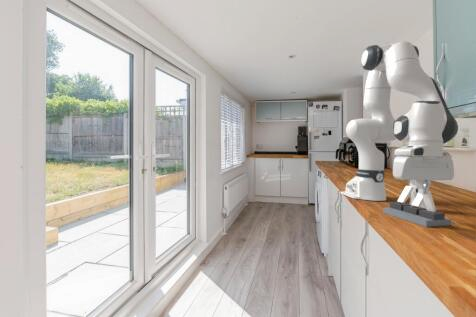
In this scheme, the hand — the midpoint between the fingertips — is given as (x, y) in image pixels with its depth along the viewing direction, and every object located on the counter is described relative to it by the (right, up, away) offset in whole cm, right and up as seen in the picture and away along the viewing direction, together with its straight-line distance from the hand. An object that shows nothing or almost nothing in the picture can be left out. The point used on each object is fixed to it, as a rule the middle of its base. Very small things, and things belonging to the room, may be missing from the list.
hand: (422, 193), depth 80 cm
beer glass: (+14, -10, +22) cm, 28 cm away
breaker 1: (+1, -5, +13) cm, 14 cm away
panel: (+2, -10, +7) cm, 12 cm away
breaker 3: (+4, -6, +1) cm, 7 cm away
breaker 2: (+3, -6, +7) cm, 9 cm away
